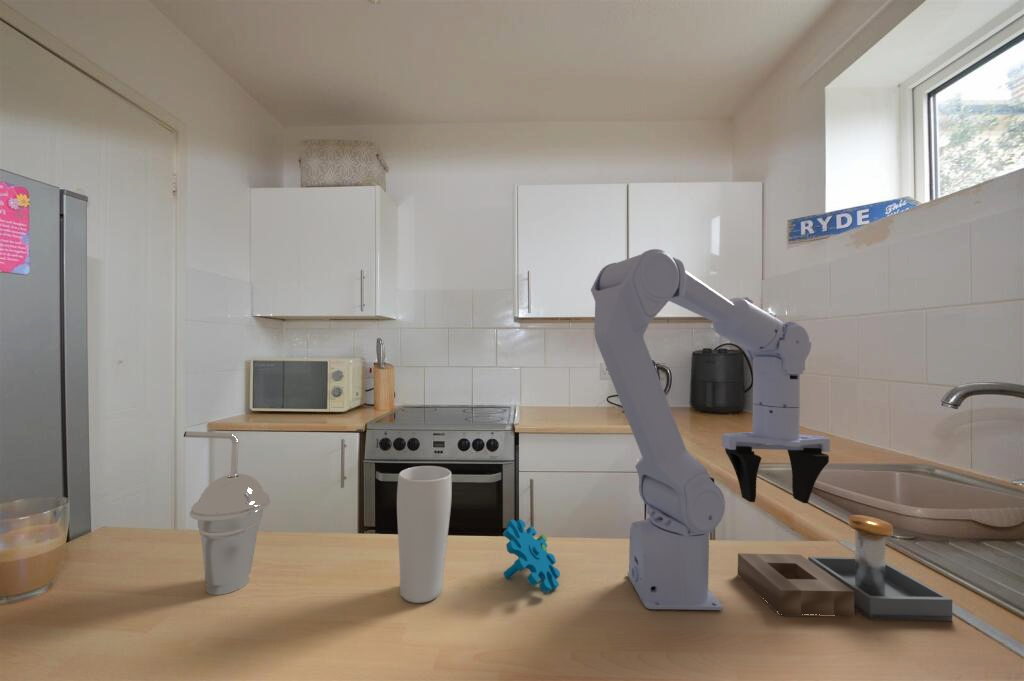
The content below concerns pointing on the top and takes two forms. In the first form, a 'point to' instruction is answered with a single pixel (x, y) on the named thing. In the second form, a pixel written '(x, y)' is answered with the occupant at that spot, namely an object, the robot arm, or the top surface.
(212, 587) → the cup with straw
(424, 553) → the drinking glass
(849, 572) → the tray
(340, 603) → the top surface
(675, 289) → the robot arm
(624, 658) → the top surface
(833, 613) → the holder block
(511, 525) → the gear
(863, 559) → the pin
